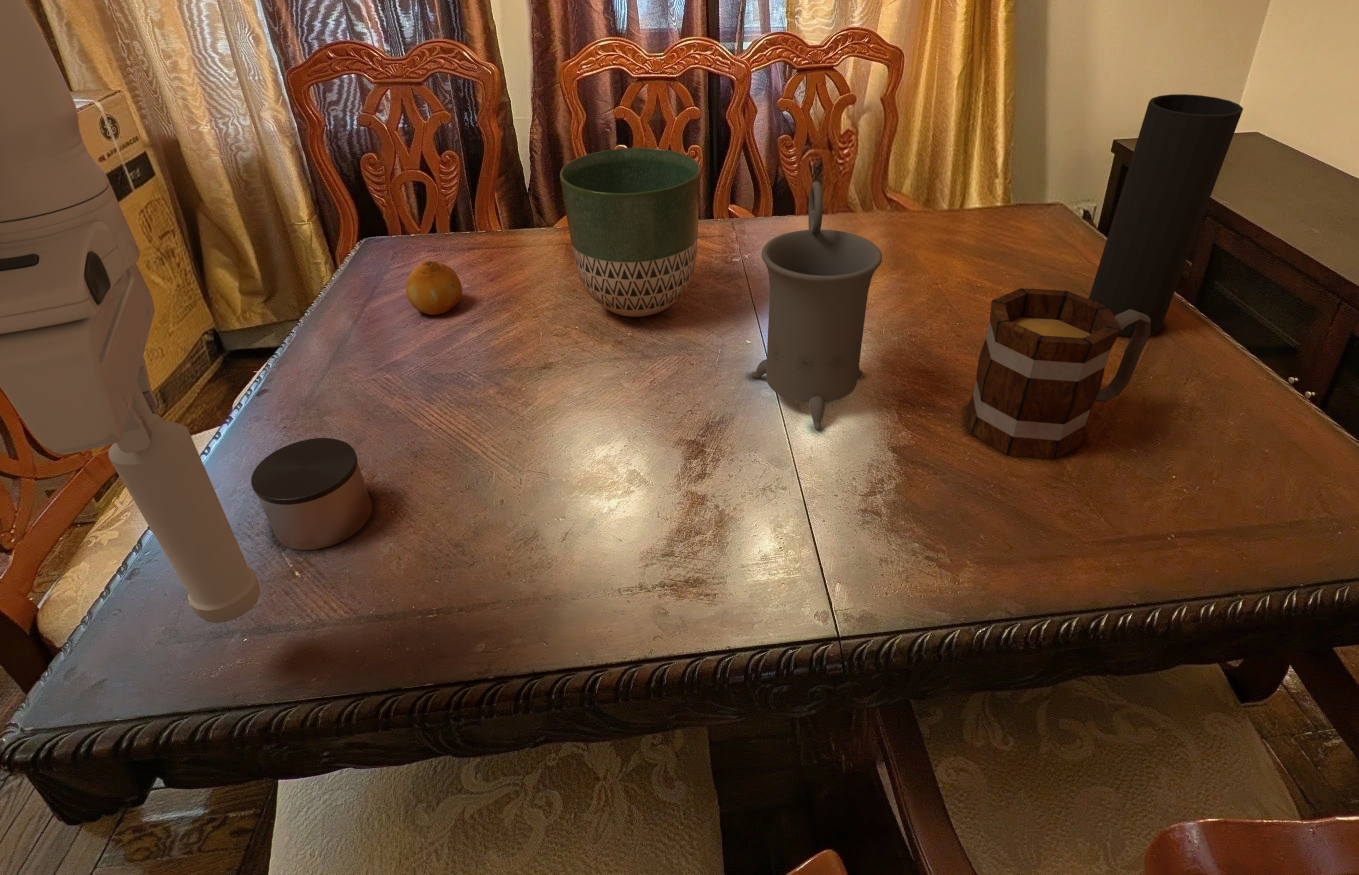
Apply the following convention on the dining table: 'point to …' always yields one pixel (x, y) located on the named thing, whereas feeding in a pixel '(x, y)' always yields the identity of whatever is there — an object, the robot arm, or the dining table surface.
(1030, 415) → the mug
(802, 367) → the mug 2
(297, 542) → the canister
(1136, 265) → the vase
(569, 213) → the planter
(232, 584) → the bottle
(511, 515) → the dining table surface
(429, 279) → the fruit
